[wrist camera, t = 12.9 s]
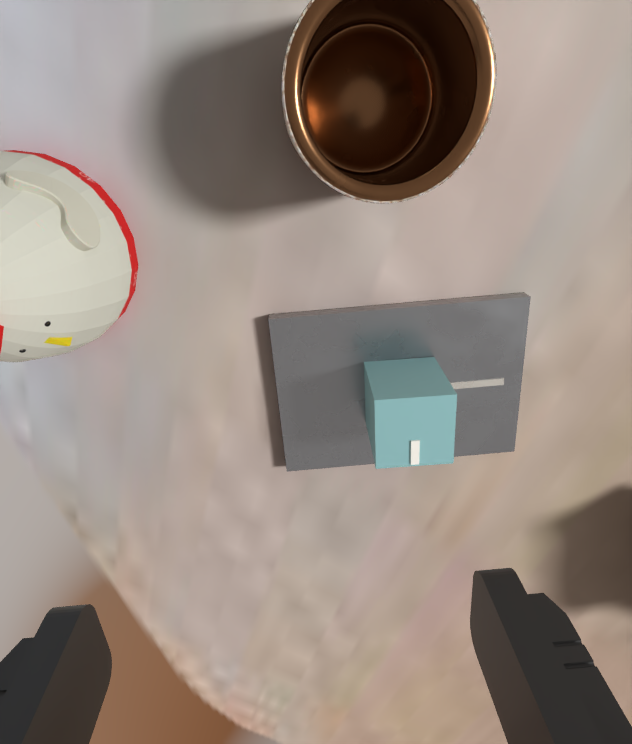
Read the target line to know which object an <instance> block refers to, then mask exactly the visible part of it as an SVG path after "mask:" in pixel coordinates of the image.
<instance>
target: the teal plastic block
mask: <svg viewBox="0 0 632 744" xmlns="http://www.w3.org/2000/svg"><path fill="white" fill-rule="evenodd" d="M364 383H365V415H366V426H367V431H368V435H369V440H370V444H371V449H372V453H373V458H374V462H375V467H376V469H379V468H393V467H407V466H421V465H435V464H449V463H453V461H454V443H455V425H456V407H457V393H456V392H455V390H454V388H453V387H452V385H451V383H450V382H449V380H448V378H447V377H446V375H445V374H444V372H443V370H442V369H441V367H440V365H439V364H438V362H437V360H436V359H435V357H426V358H412V359H398V360H384V361H370V362H364Z"/></svg>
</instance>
